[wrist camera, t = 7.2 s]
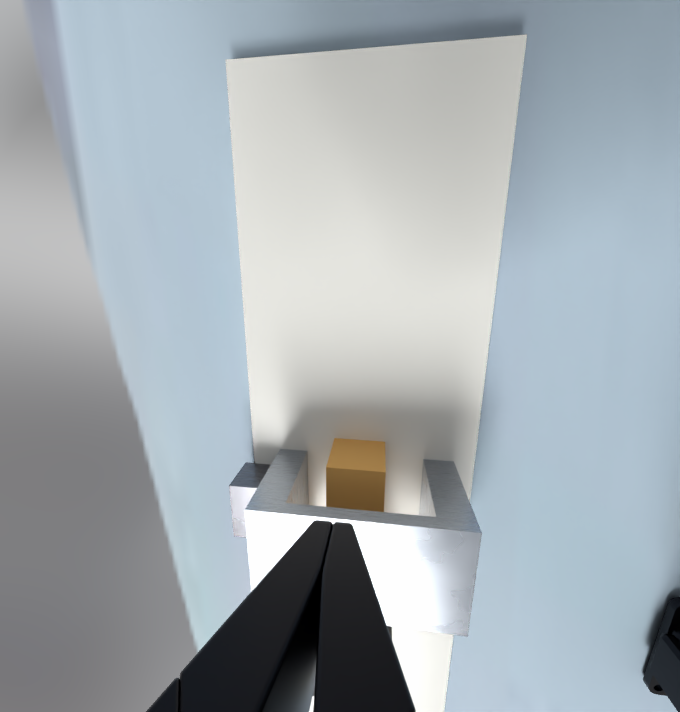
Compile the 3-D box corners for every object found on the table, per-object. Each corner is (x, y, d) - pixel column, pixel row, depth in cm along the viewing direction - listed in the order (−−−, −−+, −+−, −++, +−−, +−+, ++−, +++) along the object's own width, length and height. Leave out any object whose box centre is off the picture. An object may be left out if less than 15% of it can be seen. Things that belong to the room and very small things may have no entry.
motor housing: (453, 461, 16) (481, 533, 11) (445, 543, 17) (467, 636, 13) (244, 446, 17) (197, 505, 13) (250, 523, 18) (209, 601, 14)
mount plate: (520, 45, 12) (526, 34, 11) (439, 726, 21) (440, 738, 21) (232, 69, 13) (225, 59, 13) (274, 697, 23) (272, 708, 22)
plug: (399, 442, 16) (403, 485, 13) (386, 653, 20) (387, 728, 16) (321, 437, 16) (306, 477, 13) (322, 643, 20) (311, 715, 17)
